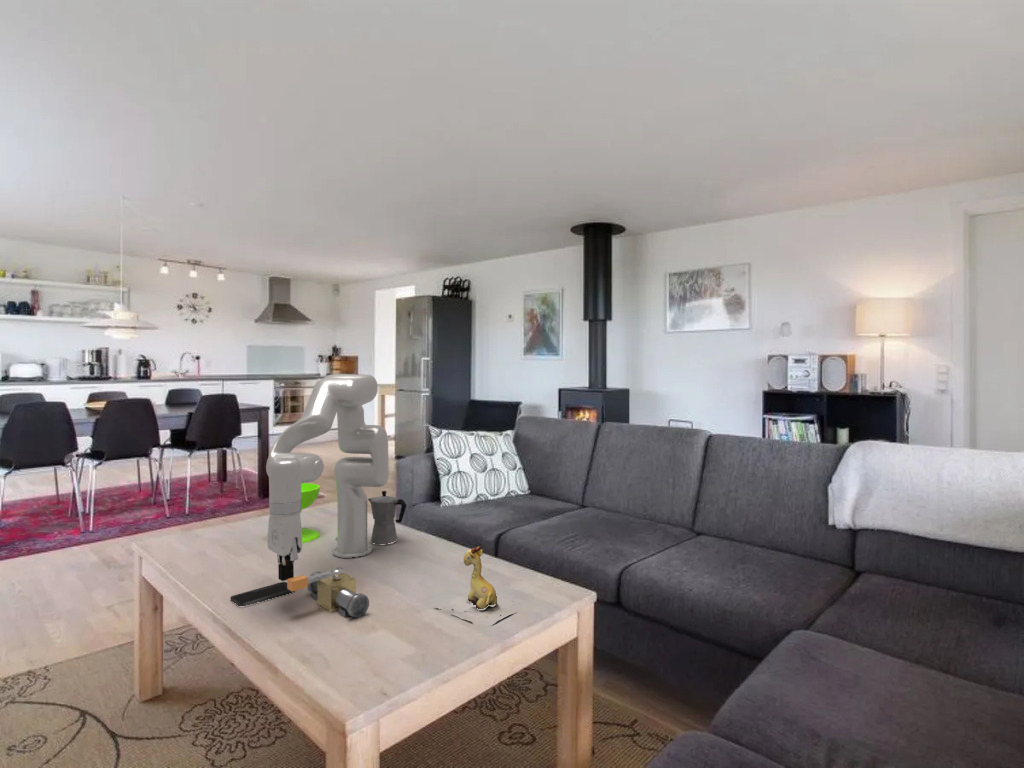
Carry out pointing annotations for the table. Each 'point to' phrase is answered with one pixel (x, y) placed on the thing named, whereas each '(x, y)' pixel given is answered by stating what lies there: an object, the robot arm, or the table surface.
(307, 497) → the wineglass
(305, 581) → the valve lever
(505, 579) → the table surface
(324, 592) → the valve pipe
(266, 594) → the phone
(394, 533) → the coffeepot
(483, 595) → the stuffed giraffe
